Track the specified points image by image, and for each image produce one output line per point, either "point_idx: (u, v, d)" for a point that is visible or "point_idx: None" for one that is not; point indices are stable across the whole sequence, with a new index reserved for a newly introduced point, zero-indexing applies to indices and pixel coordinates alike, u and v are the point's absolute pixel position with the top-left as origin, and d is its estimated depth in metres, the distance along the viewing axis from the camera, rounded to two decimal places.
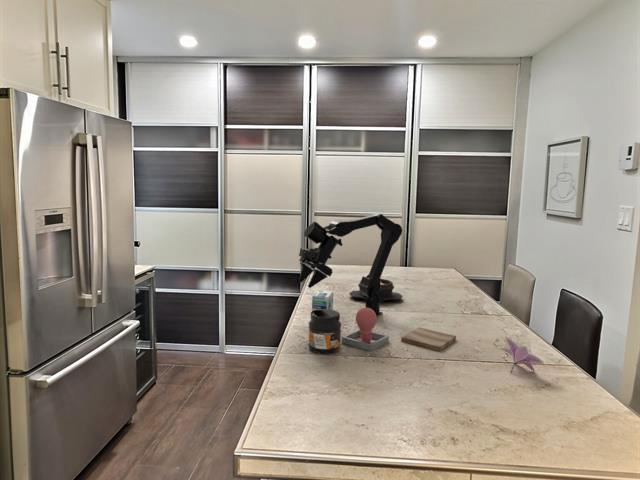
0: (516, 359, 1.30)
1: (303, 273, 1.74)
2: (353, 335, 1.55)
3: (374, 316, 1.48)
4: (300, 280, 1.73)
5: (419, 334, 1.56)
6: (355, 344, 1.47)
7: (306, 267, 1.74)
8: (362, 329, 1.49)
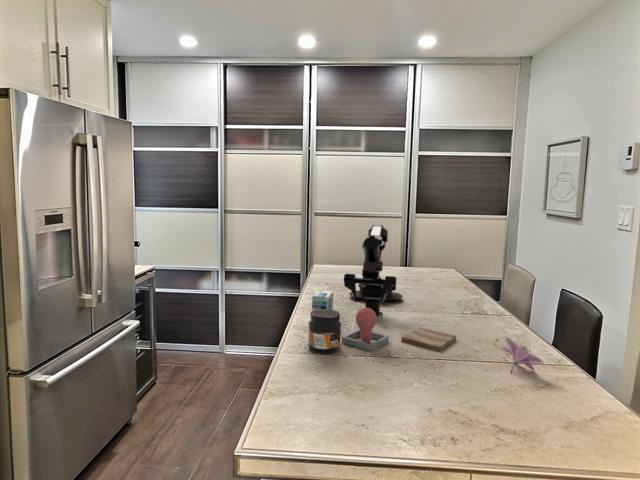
0: (516, 359, 1.30)
1: (355, 291, 1.58)
2: (353, 335, 1.55)
3: (374, 316, 1.48)
4: (355, 299, 1.57)
5: (419, 334, 1.56)
6: (355, 344, 1.47)
7: (355, 285, 1.60)
8: (362, 329, 1.49)
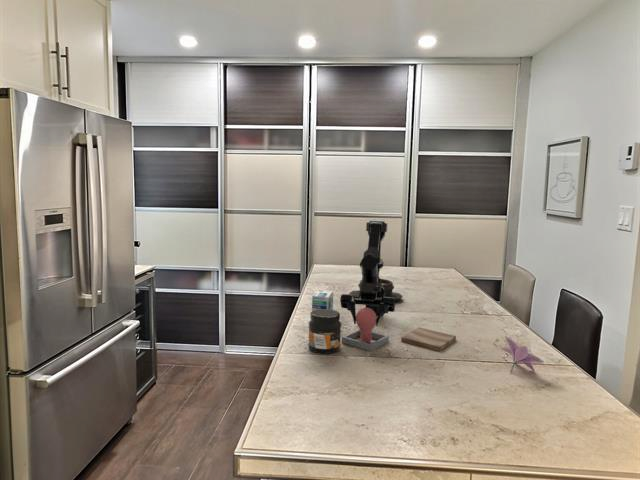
0: (516, 358, 1.30)
1: (355, 313, 1.52)
2: (353, 335, 1.55)
3: (374, 316, 1.48)
4: (355, 321, 1.50)
5: (419, 334, 1.56)
6: (355, 344, 1.47)
7: None
8: (362, 329, 1.49)
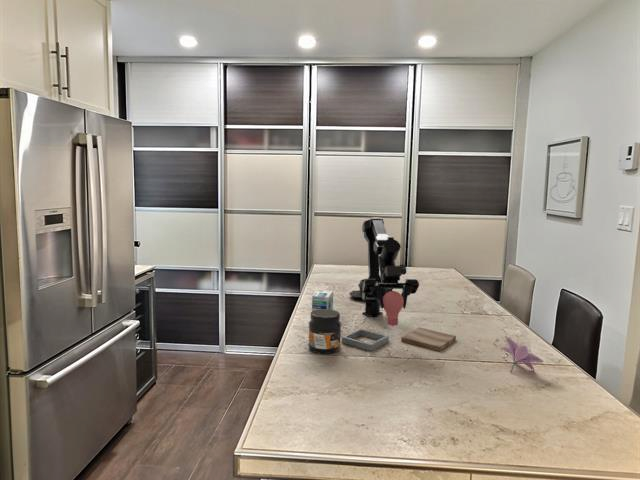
0: (516, 358, 1.30)
1: None
2: (353, 335, 1.55)
3: (402, 299, 1.47)
4: None
5: (419, 334, 1.56)
6: (355, 344, 1.47)
7: None
8: (390, 313, 1.47)
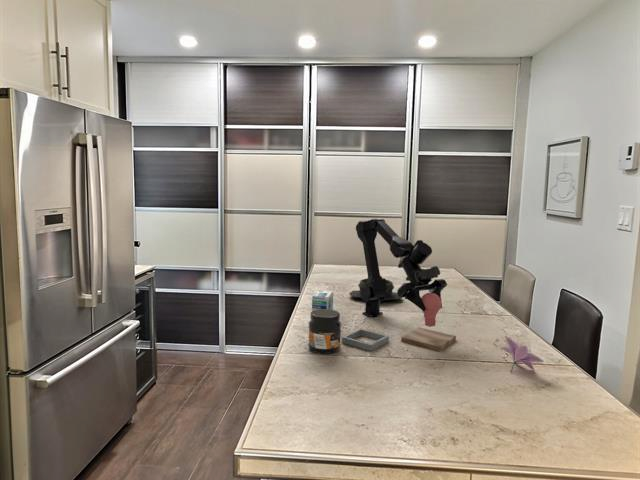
0: (516, 358, 1.30)
1: None
2: (353, 335, 1.55)
3: None
4: None
5: (419, 334, 1.56)
6: (355, 344, 1.47)
7: None
8: (431, 314, 1.51)
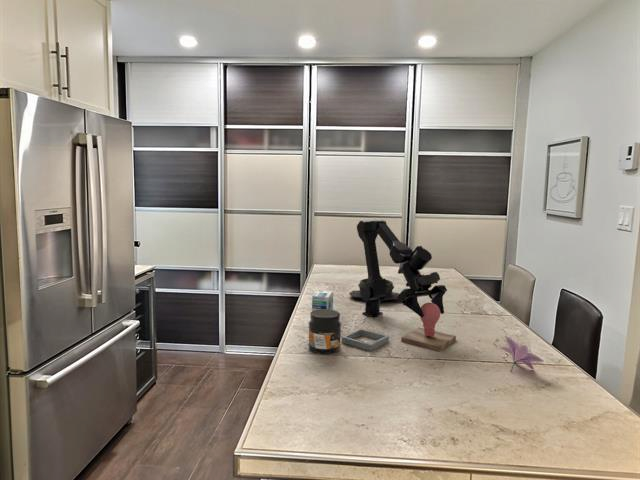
0: (516, 358, 1.30)
1: None
2: (353, 335, 1.55)
3: None
4: None
5: (419, 334, 1.56)
6: (355, 344, 1.47)
7: None
8: (431, 324, 1.51)
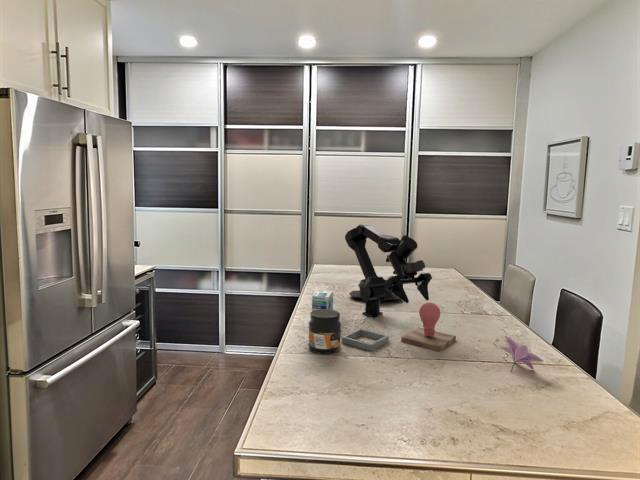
0: (516, 358, 1.30)
1: None
2: (353, 335, 1.55)
3: None
4: None
5: (419, 334, 1.56)
6: (355, 344, 1.47)
7: None
8: (431, 324, 1.51)
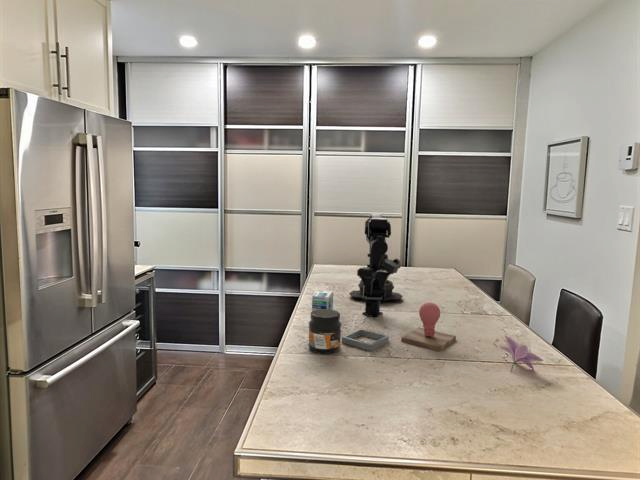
0: (516, 357, 1.31)
1: None
2: (353, 335, 1.55)
3: (439, 309, 1.53)
4: None
5: (419, 334, 1.56)
6: (355, 344, 1.47)
7: None
8: (431, 324, 1.51)
